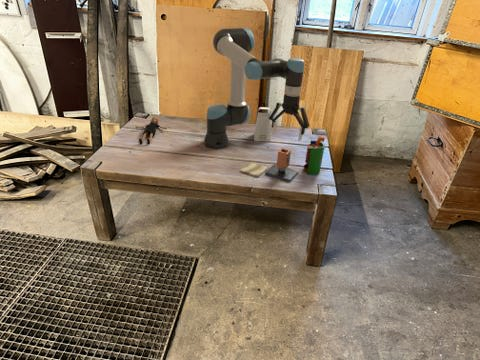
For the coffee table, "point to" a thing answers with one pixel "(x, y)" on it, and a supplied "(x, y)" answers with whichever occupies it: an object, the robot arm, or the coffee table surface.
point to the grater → (262, 126)
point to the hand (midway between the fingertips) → (286, 137)
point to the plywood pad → (254, 169)
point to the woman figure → (150, 130)
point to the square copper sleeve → (283, 158)
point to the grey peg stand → (281, 173)
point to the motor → (314, 156)
